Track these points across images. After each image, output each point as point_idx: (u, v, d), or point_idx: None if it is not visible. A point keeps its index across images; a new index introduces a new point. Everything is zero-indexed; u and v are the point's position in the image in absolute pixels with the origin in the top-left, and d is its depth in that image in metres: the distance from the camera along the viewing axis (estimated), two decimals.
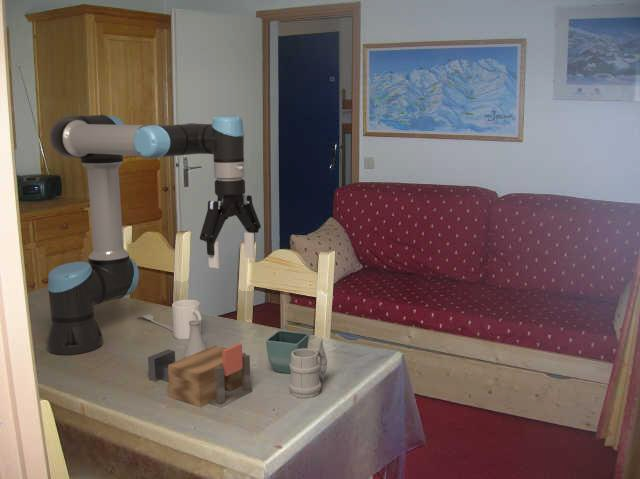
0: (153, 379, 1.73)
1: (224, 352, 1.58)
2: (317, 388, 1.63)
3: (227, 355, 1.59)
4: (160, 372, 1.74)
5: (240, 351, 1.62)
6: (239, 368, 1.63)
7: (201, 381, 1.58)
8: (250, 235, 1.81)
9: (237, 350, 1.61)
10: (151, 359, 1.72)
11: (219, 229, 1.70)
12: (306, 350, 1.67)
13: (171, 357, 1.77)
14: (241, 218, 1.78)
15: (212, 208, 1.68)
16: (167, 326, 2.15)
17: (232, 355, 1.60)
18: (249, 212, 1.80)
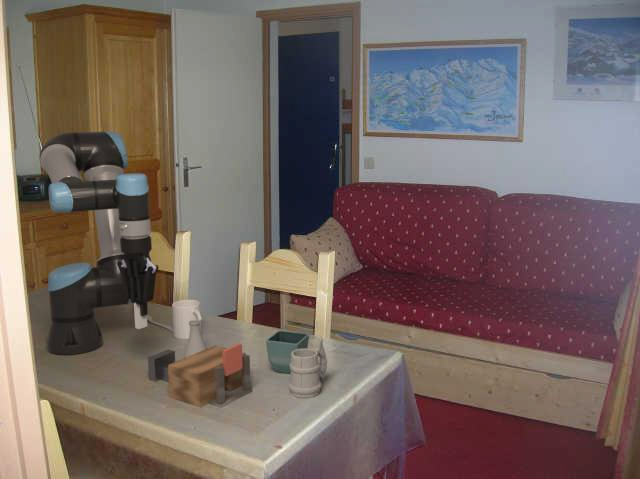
0: (153, 379, 1.73)
1: (224, 352, 1.58)
2: (317, 388, 1.63)
3: (227, 355, 1.59)
4: (160, 372, 1.74)
5: (240, 351, 1.62)
6: (239, 368, 1.63)
7: (201, 381, 1.58)
8: None
9: (237, 350, 1.61)
10: (151, 359, 1.72)
11: (132, 288, 1.75)
12: (306, 350, 1.67)
13: (171, 357, 1.77)
14: None
15: None
16: (166, 326, 2.15)
17: (232, 355, 1.60)
18: None
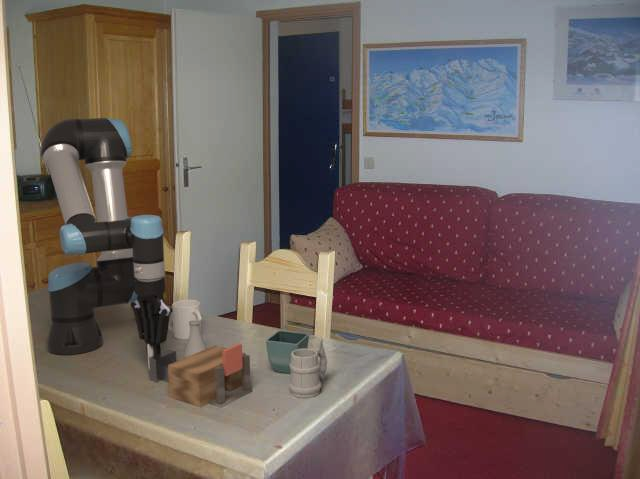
0: (154, 379, 1.73)
1: (224, 352, 1.58)
2: (317, 388, 1.63)
3: (227, 355, 1.59)
4: (161, 372, 1.73)
5: (240, 351, 1.62)
6: (239, 368, 1.63)
7: (201, 381, 1.58)
8: None
9: (237, 350, 1.61)
10: (152, 359, 1.72)
11: (145, 329, 1.75)
12: (306, 350, 1.67)
13: (172, 357, 1.76)
14: None
15: None
16: None
17: (232, 355, 1.60)
18: None
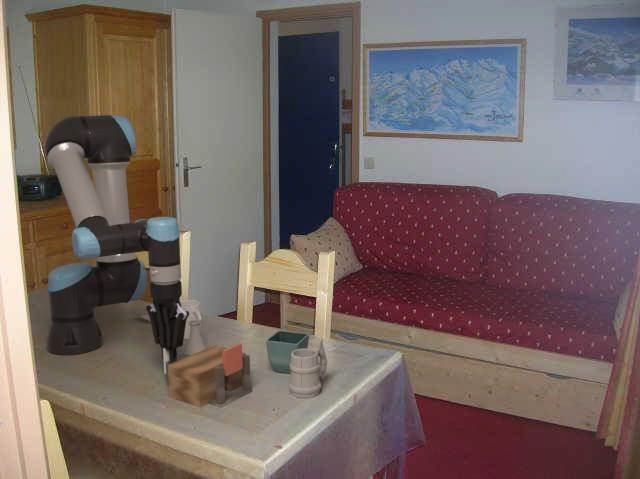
0: None
1: (224, 352, 1.58)
2: (317, 388, 1.63)
3: (227, 355, 1.59)
4: None
5: (240, 351, 1.62)
6: (239, 368, 1.63)
7: (201, 381, 1.58)
8: None
9: (237, 350, 1.61)
10: None
11: (161, 333, 1.72)
12: (306, 350, 1.67)
13: None
14: None
15: None
16: None
17: (232, 355, 1.60)
18: None
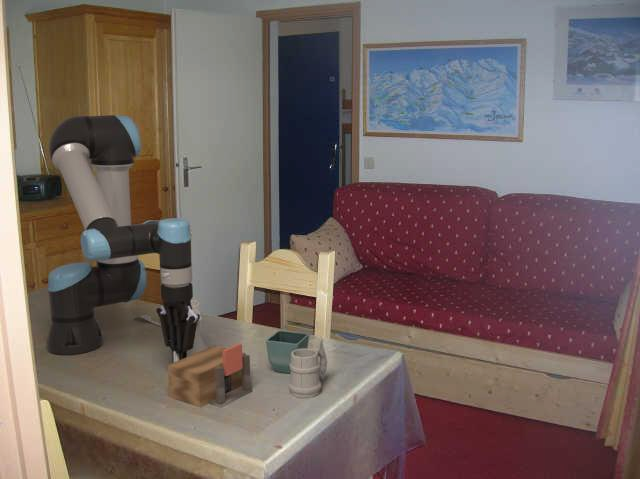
0: None
1: (224, 352, 1.58)
2: (317, 388, 1.63)
3: (227, 355, 1.59)
4: None
5: (240, 351, 1.62)
6: (239, 368, 1.63)
7: (201, 381, 1.58)
8: None
9: (237, 350, 1.61)
10: None
11: (171, 336, 1.70)
12: (306, 350, 1.67)
13: None
14: None
15: None
16: None
17: (232, 355, 1.60)
18: None
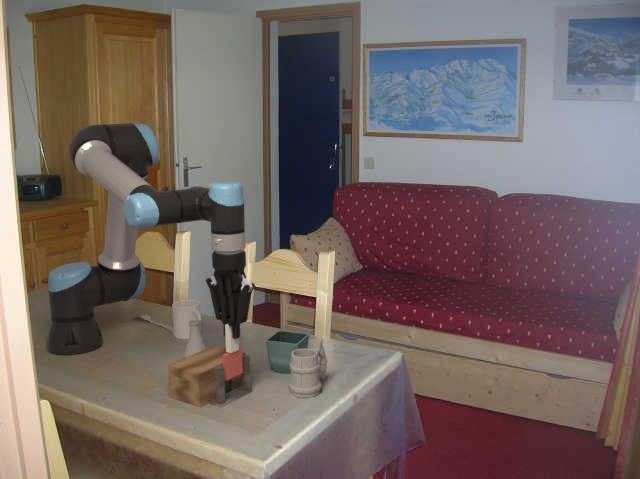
0: None
1: (224, 356, 1.58)
2: (317, 388, 1.63)
3: (227, 360, 1.59)
4: None
5: (240, 355, 1.63)
6: (239, 372, 1.63)
7: (201, 381, 1.58)
8: None
9: (237, 354, 1.62)
10: None
11: (223, 308, 1.58)
12: (306, 350, 1.67)
13: None
14: None
15: None
16: (165, 326, 2.15)
17: (232, 360, 1.60)
18: None
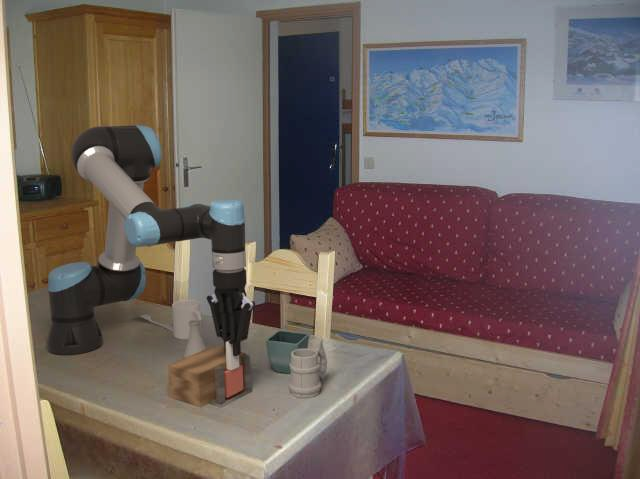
0: None
1: (225, 374, 1.59)
2: (317, 388, 1.63)
3: (228, 377, 1.60)
4: None
5: (241, 372, 1.63)
6: (240, 389, 1.64)
7: (201, 381, 1.58)
8: None
9: (238, 371, 1.62)
10: None
11: (224, 326, 1.59)
12: (306, 350, 1.67)
13: None
14: None
15: None
16: (165, 326, 2.15)
17: (233, 377, 1.61)
18: None
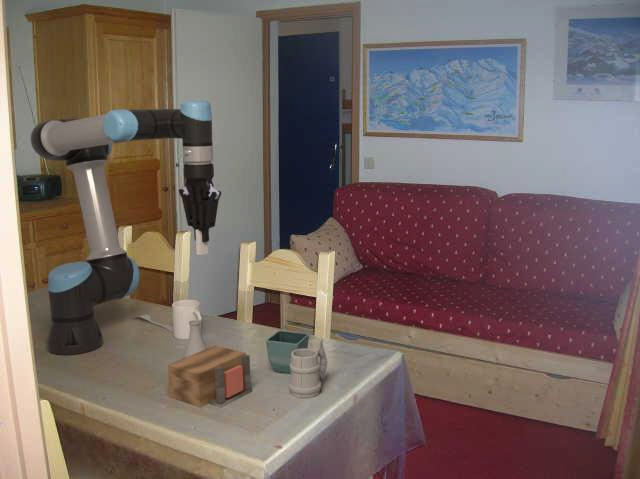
0: None
1: (225, 374, 1.59)
2: (317, 388, 1.63)
3: (228, 377, 1.60)
4: None
5: (241, 373, 1.63)
6: (240, 389, 1.64)
7: (201, 381, 1.58)
8: None
9: (238, 372, 1.62)
10: None
11: (194, 215, 1.79)
12: (306, 350, 1.67)
13: None
14: None
15: None
16: (165, 326, 2.15)
17: (233, 377, 1.61)
18: None
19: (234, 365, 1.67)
